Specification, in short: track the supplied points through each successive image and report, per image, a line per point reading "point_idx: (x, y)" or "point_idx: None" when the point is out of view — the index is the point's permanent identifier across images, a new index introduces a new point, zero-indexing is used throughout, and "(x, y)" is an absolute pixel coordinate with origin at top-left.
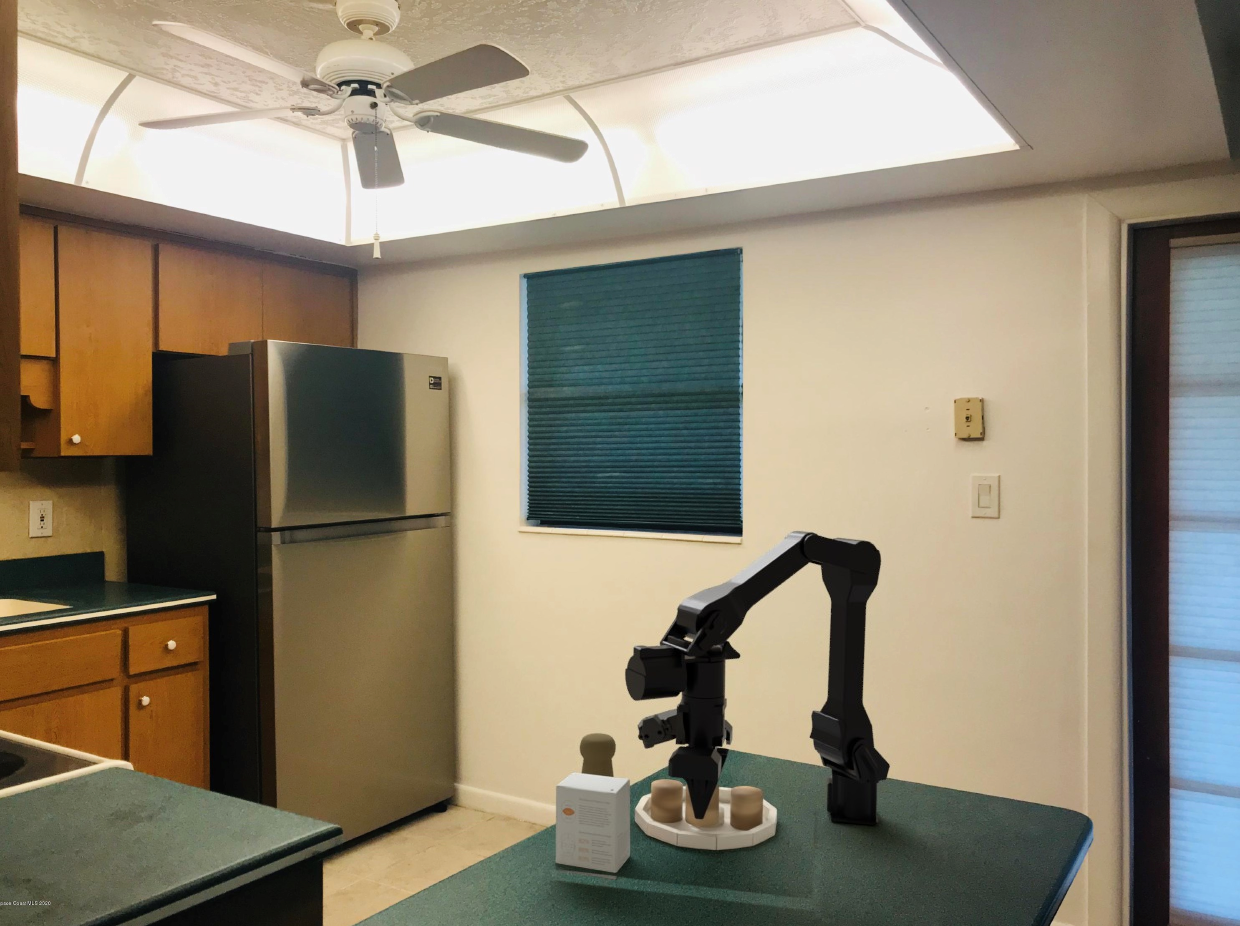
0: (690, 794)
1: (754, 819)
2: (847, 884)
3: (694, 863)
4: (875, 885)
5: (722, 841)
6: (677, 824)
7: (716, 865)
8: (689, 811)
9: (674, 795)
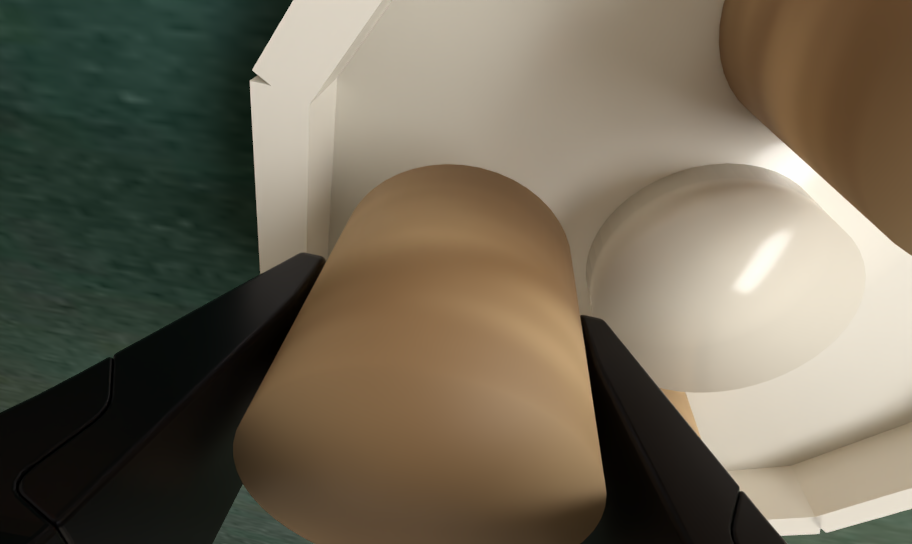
0: (99, 371)
1: None
2: None
3: (208, 132)
4: (242, 538)
5: None
6: (673, 83)
7: (223, 229)
8: (355, 235)
9: (819, 138)
